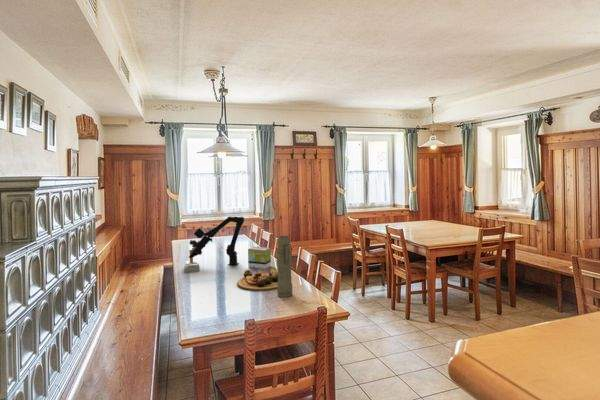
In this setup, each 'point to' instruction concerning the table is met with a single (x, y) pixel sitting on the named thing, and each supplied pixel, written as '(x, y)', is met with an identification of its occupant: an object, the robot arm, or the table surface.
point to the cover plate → (191, 259)
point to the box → (192, 268)
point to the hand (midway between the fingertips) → (189, 257)
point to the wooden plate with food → (258, 281)
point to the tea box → (259, 257)
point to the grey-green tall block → (284, 267)
